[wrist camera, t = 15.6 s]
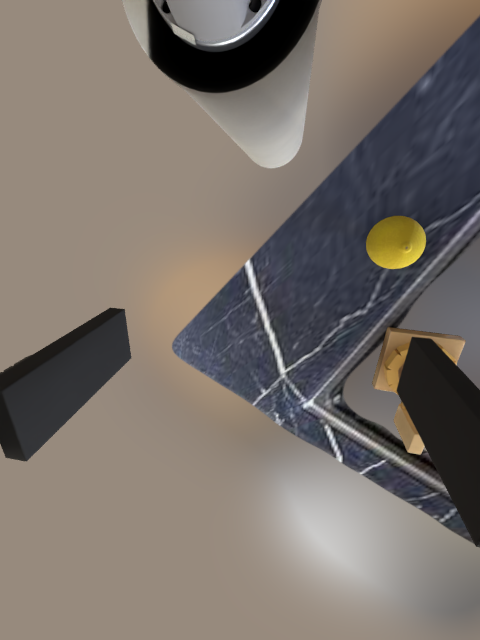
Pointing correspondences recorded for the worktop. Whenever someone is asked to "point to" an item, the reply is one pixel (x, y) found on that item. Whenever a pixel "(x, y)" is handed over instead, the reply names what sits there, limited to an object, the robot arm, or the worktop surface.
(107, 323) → the robot arm
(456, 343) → the peg stand
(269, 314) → the worktop surface
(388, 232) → the lemon
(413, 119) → the worktop surface
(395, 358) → the hang ring
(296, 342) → the worktop surface
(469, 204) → the worktop surface
